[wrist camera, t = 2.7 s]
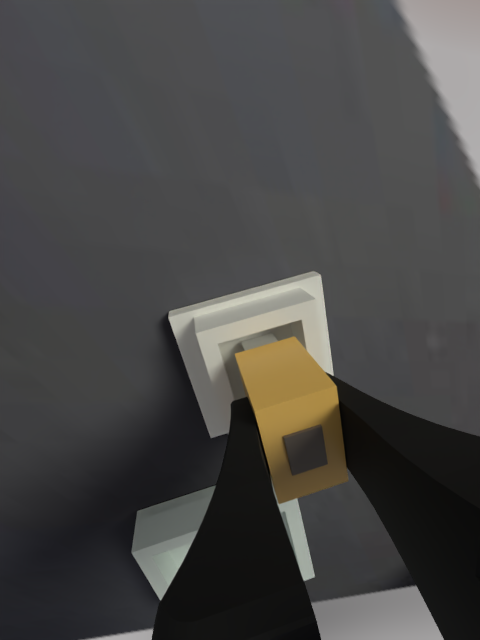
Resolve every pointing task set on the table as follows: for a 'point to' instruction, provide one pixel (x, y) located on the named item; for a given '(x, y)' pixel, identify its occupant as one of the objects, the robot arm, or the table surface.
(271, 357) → the block
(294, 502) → the parts tray
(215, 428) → the white open box
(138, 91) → the table surface
